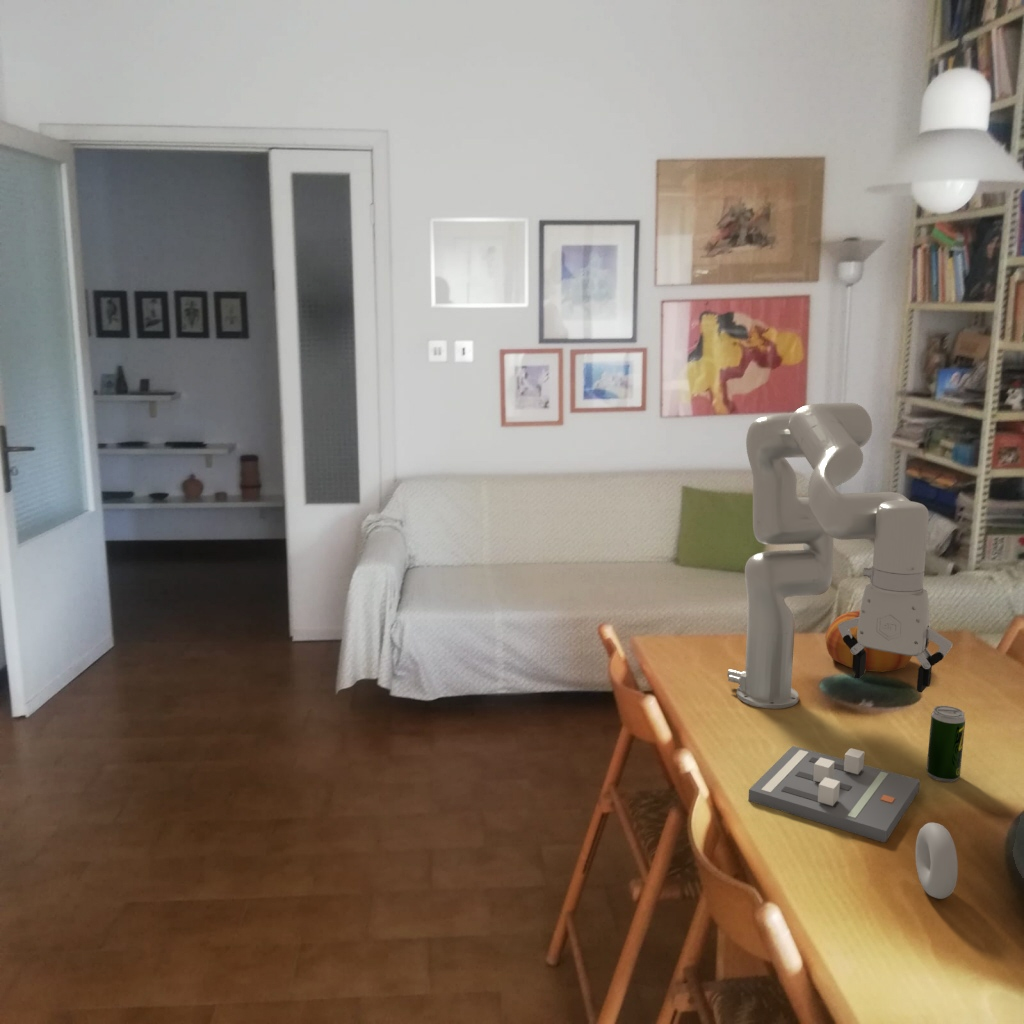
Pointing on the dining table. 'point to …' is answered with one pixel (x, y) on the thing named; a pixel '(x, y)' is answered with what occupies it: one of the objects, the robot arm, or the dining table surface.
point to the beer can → (945, 743)
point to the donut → (936, 860)
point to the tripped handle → (823, 769)
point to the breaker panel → (837, 817)
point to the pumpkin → (874, 658)
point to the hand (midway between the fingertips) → (890, 682)
